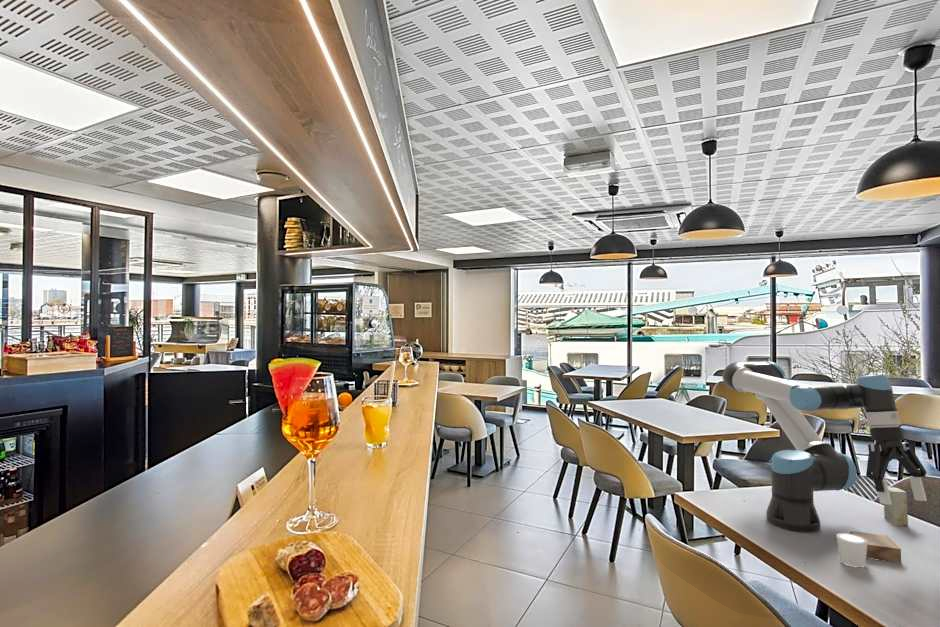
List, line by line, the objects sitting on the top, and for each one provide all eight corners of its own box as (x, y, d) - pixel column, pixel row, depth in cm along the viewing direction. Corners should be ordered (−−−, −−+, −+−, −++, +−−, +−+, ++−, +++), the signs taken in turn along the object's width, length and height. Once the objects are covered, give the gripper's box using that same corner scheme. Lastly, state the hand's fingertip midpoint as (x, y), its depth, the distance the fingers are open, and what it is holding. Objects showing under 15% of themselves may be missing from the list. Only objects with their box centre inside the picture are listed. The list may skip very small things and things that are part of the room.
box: (908, 526, 158) (907, 492, 159) (893, 525, 159) (892, 491, 159) (897, 519, 163) (897, 487, 164) (883, 518, 164) (882, 486, 165)
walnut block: (861, 557, 138) (861, 543, 138) (850, 544, 146) (850, 530, 146) (901, 563, 134) (900, 549, 134) (887, 549, 143) (887, 535, 143)
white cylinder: (830, 557, 138) (830, 532, 138) (852, 556, 139) (852, 531, 139) (851, 569, 131) (851, 543, 131) (874, 568, 132) (874, 542, 132)
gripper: (866, 427, 137) (885, 507, 132) (929, 424, 143) (950, 500, 138) (840, 428, 144) (857, 503, 139) (902, 425, 150) (920, 497, 145)
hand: (903, 502), depth 139 cm, fingers open, 13 cm apart
